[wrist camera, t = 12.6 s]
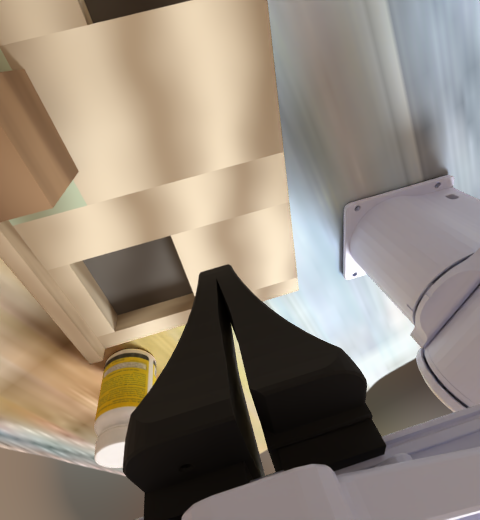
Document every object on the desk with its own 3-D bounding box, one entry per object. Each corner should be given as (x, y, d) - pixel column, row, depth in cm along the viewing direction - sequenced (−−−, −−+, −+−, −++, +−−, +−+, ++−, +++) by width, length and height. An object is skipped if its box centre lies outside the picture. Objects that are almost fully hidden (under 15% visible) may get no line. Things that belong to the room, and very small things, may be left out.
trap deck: (225, -248, 12) (242, -334, 9) (290, 276, 28) (303, 299, 25) (-265, -154, 11) (-402, -221, 8) (97, 334, 27) (90, 364, 24)
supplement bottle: (94, 361, 28) (72, 458, 22) (137, 339, 28) (129, 431, 21) (126, 384, 31) (116, 476, 24) (165, 365, 31) (167, 452, 24)
